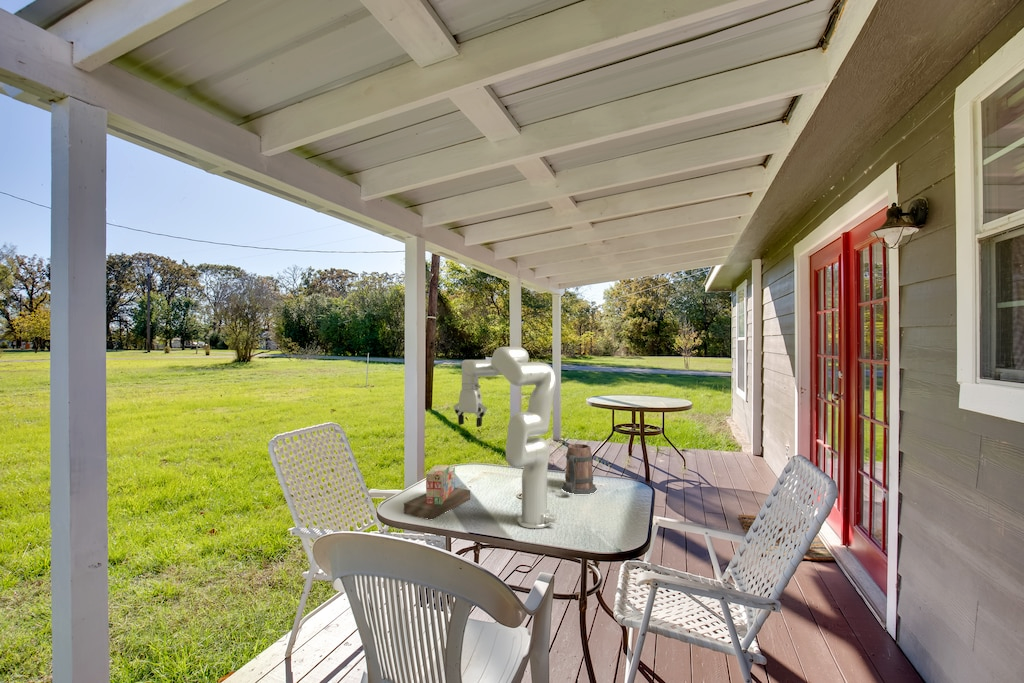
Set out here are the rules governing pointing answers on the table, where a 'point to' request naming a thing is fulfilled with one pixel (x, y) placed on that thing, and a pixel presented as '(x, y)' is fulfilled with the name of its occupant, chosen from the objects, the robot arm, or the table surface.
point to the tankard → (579, 470)
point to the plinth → (432, 511)
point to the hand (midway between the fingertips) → (469, 425)
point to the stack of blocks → (439, 484)
